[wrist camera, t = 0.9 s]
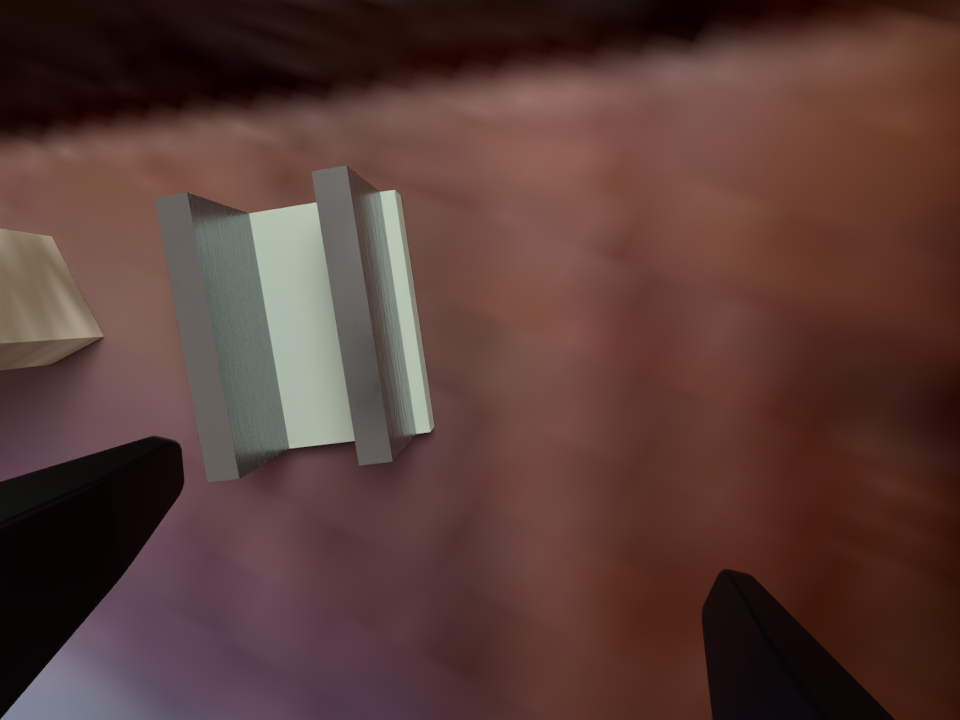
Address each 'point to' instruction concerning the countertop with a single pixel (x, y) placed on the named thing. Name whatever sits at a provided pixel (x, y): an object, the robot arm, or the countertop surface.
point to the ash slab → (39, 304)
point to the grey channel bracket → (297, 324)
